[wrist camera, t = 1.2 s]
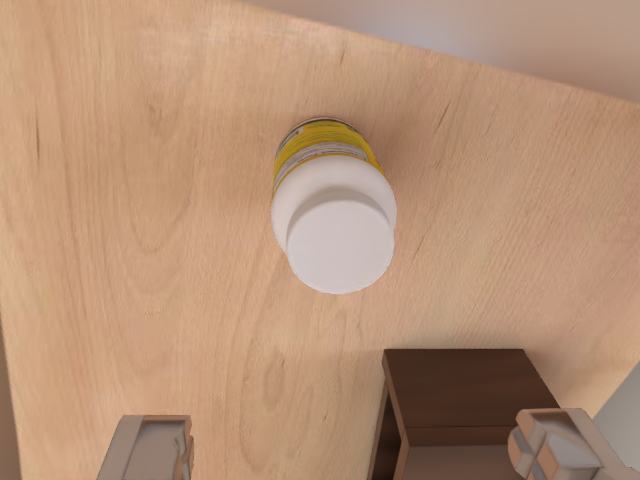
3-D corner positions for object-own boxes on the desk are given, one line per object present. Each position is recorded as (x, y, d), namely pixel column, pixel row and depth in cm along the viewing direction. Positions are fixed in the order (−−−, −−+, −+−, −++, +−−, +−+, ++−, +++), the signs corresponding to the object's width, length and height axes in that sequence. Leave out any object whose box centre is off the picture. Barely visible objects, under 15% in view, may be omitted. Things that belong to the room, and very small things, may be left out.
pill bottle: (362, 210, 30) (396, 313, 21) (271, 202, 30) (262, 305, 20) (379, 119, 27) (429, 191, 18) (279, 108, 27) (274, 176, 17)
